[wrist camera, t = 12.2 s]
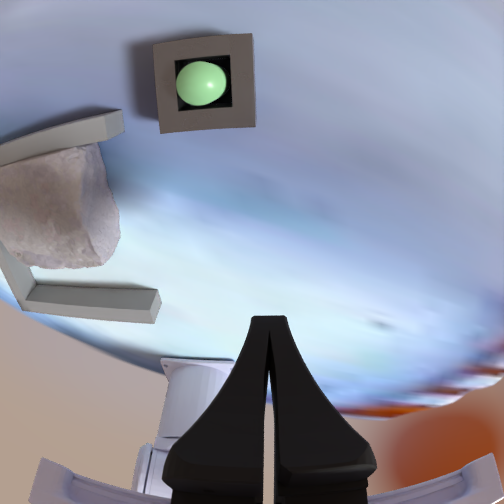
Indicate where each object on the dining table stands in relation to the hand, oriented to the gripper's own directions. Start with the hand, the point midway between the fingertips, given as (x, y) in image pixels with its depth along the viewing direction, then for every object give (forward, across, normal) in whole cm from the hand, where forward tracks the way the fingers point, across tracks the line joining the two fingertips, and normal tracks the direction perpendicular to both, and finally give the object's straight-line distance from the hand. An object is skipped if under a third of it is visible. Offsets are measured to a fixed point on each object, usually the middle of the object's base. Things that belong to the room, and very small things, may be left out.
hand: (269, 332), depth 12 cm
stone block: (+10, +17, -2) cm, 20 cm away
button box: (+10, +3, -10) cm, 14 cm away
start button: (+11, +3, -10) cm, 15 cm away
